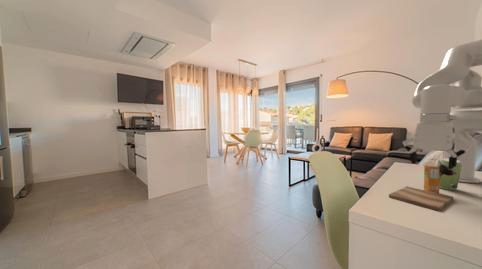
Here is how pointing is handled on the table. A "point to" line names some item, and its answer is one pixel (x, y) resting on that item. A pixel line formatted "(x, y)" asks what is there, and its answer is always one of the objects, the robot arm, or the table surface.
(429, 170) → the supplement box
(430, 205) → the walnut board
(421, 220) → the table surface
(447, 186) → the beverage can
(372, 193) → the table surface
